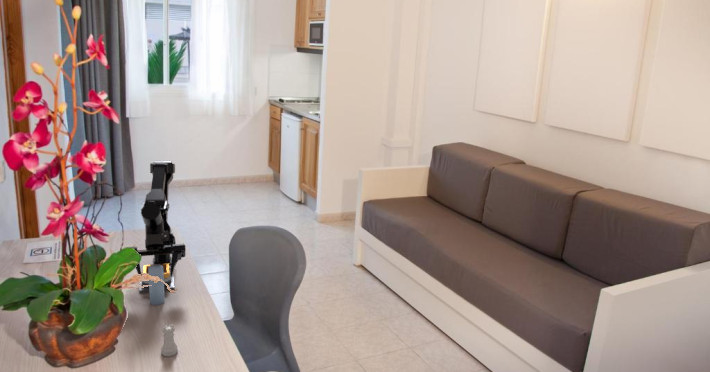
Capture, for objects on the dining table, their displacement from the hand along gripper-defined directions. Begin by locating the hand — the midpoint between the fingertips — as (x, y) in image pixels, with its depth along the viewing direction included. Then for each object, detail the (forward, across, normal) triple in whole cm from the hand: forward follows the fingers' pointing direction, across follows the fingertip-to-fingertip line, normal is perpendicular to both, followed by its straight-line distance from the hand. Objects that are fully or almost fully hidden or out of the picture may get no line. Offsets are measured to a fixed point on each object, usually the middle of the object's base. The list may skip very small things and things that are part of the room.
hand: (156, 277), depth 182 cm
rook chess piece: (+28, +3, -15) cm, 32 cm away
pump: (+6, 0, +6) cm, 8 cm away
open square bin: (-3, 0, +14) cm, 14 cm away
